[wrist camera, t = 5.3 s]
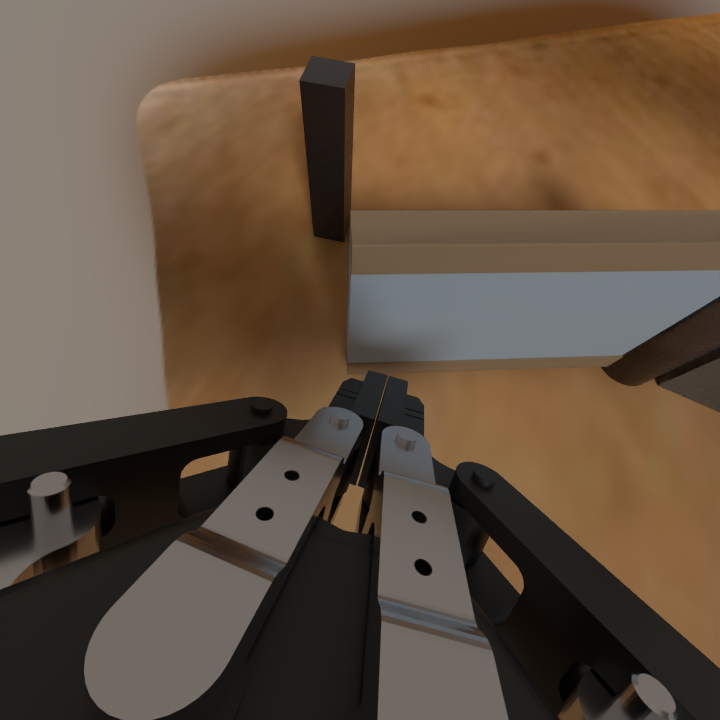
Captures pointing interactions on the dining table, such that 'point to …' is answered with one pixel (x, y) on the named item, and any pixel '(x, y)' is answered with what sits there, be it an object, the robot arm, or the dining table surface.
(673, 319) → the gate
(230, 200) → the dining table surface
